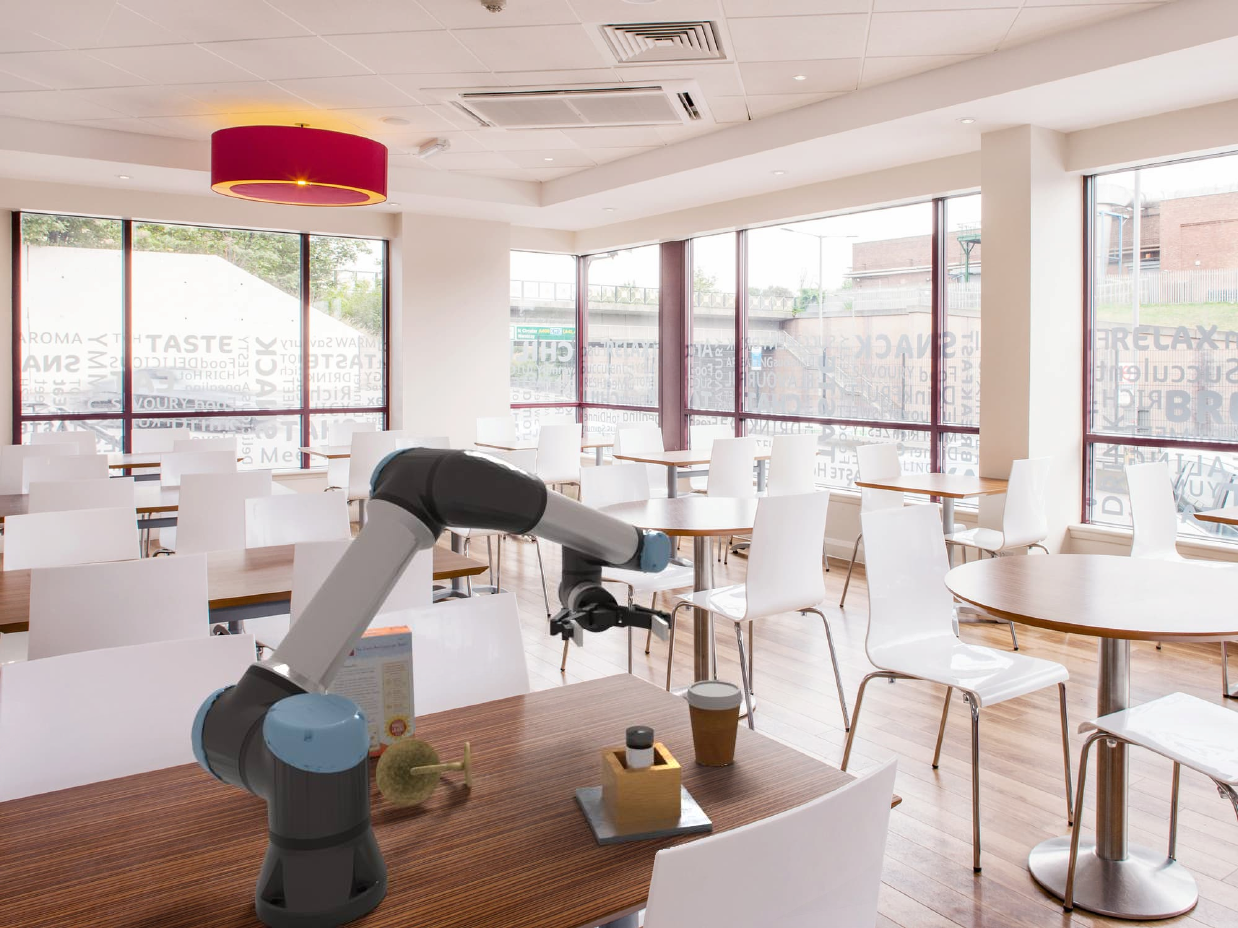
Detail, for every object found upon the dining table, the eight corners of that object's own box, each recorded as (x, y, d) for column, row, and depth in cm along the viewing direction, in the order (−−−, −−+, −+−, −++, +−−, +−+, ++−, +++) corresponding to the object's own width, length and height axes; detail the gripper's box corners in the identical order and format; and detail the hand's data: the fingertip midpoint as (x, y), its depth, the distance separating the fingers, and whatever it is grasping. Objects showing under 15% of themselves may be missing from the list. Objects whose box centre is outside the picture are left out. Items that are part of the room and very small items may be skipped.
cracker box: (411, 739, 158) (408, 623, 156) (416, 751, 152) (413, 631, 151) (328, 751, 153) (324, 631, 151) (330, 764, 147) (326, 640, 146)
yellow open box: (599, 845, 119) (598, 787, 119) (575, 794, 135) (574, 743, 134) (712, 829, 123) (711, 773, 123) (676, 782, 139) (675, 732, 138)
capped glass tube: (630, 819, 127) (629, 737, 126) (623, 807, 131) (622, 727, 130) (657, 816, 128) (657, 734, 127) (649, 803, 132) (649, 724, 131)
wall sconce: (467, 734, 146) (471, 727, 123) (471, 795, 143) (475, 800, 120) (380, 743, 143) (367, 738, 120) (381, 806, 140) (368, 813, 117)
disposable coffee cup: (681, 768, 144) (680, 695, 144) (690, 746, 154) (690, 677, 153) (740, 773, 142) (740, 699, 141) (746, 750, 151) (746, 681, 150)
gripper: (660, 624, 161) (700, 654, 141) (523, 631, 155) (543, 664, 134) (660, 583, 161) (700, 607, 140) (522, 589, 155) (543, 615, 134)
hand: (623, 635), depth 137 cm, fingers open, 13 cm apart
